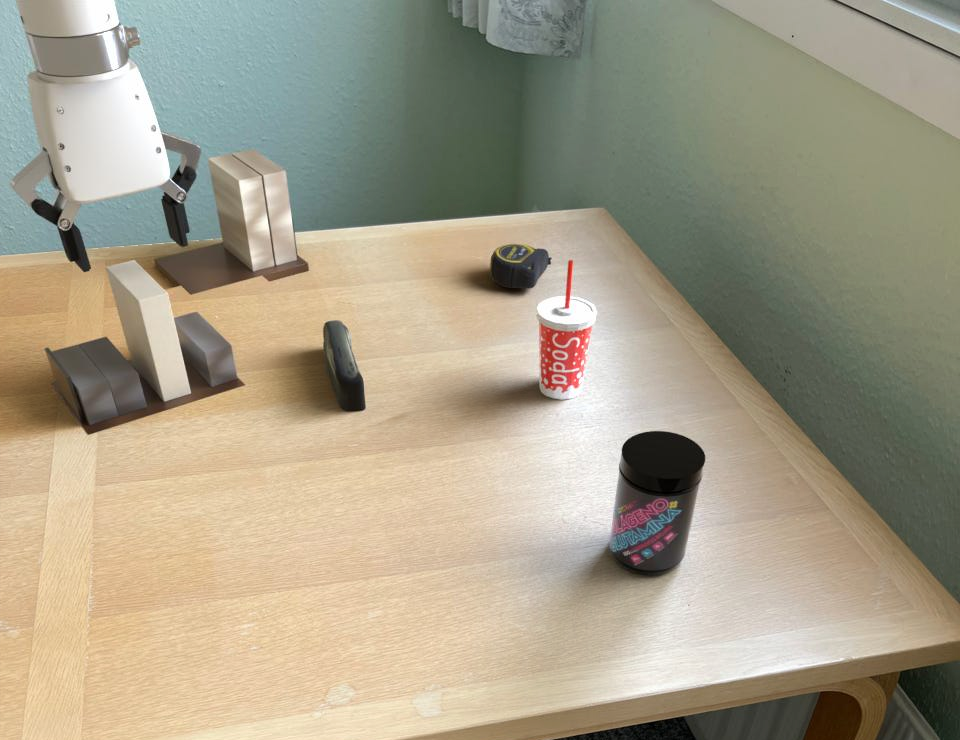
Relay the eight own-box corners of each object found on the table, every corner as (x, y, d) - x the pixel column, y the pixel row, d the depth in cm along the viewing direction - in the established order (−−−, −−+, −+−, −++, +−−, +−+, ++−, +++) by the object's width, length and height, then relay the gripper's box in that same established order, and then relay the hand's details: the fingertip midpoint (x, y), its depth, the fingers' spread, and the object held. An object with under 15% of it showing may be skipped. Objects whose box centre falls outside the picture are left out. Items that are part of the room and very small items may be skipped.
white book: (164, 402, 99) (138, 300, 91) (132, 365, 104) (105, 266, 96) (191, 393, 100) (168, 292, 92) (158, 357, 105) (134, 259, 97)
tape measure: (533, 298, 118) (535, 268, 116) (481, 288, 120) (482, 259, 117) (550, 275, 123) (552, 246, 120) (500, 266, 124) (501, 238, 122)
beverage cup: (523, 395, 102) (529, 267, 92) (545, 369, 106) (553, 243, 96) (577, 408, 100) (589, 279, 90) (596, 381, 104) (610, 254, 94)
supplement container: (594, 539, 85) (606, 440, 78) (660, 522, 87) (678, 424, 80) (629, 586, 81) (646, 486, 73) (698, 568, 83) (722, 468, 75)
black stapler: (367, 376, 95) (340, 305, 105) (338, 380, 95) (313, 309, 105) (371, 419, 99) (344, 346, 109) (342, 423, 98) (318, 350, 108)
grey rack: (90, 443, 95) (73, 389, 91) (52, 390, 102) (34, 338, 98) (247, 393, 102) (237, 341, 98) (202, 347, 109) (191, 296, 105)
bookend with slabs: (192, 302, 117) (170, 201, 108) (155, 266, 123) (132, 169, 115) (309, 270, 123) (297, 172, 115) (267, 238, 130) (253, 144, 121)
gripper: (160, 27, 86) (200, 221, 98) (-40, 58, 79) (30, 262, 91) (193, 45, 81) (231, 246, 93) (-15, 80, 74) (54, 291, 86)
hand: (132, 254), depth 92 cm, fingers open, 9 cm apart
